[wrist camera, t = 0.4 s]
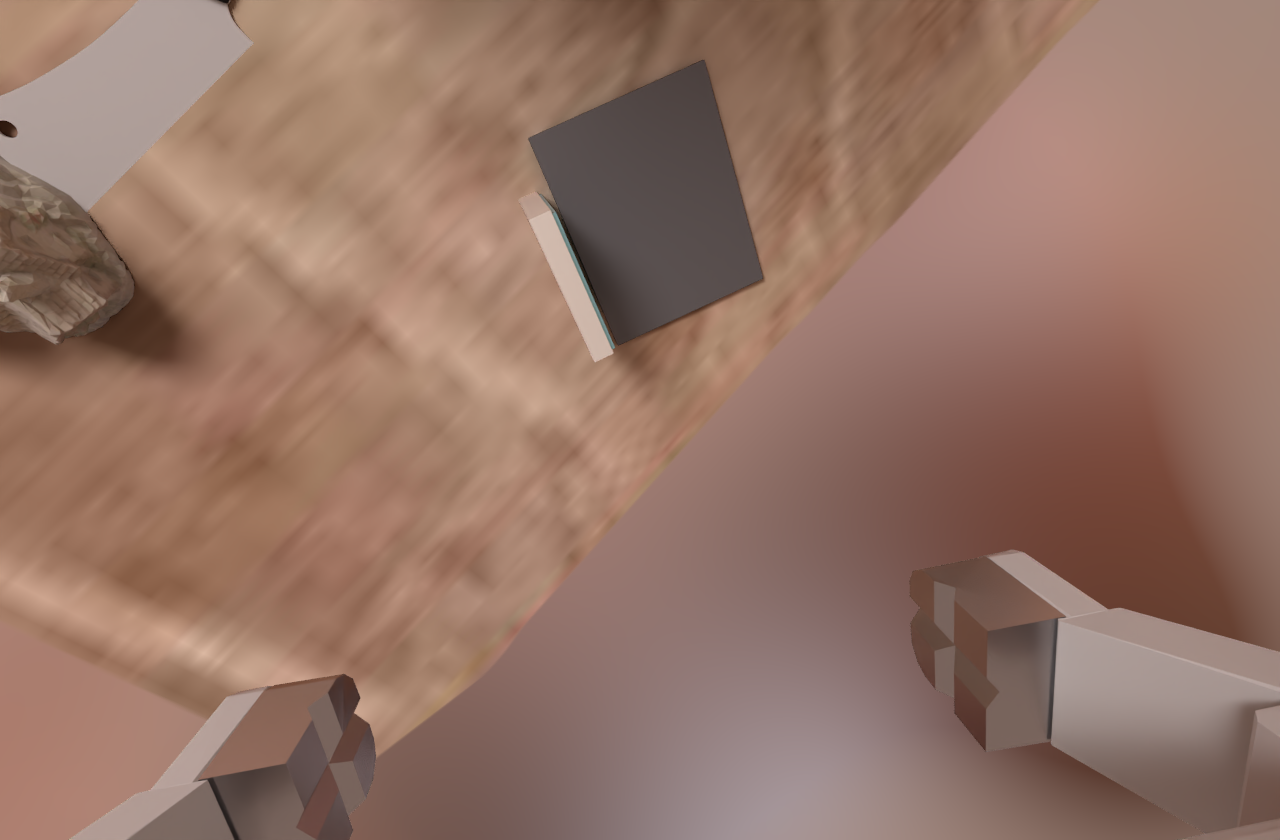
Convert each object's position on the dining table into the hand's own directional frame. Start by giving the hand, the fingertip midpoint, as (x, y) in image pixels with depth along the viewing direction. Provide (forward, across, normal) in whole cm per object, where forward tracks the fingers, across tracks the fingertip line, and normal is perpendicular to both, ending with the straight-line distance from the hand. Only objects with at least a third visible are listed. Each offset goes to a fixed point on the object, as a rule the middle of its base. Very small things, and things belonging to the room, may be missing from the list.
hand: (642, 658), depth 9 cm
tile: (+50, +2, -6) cm, 50 cm away
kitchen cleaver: (+43, +24, -24) cm, 55 cm away
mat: (+50, -7, -8) cm, 52 cm away
